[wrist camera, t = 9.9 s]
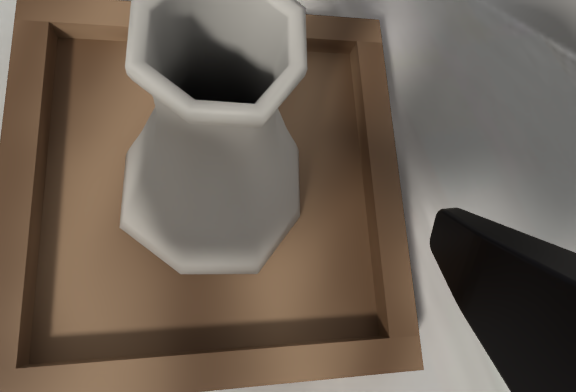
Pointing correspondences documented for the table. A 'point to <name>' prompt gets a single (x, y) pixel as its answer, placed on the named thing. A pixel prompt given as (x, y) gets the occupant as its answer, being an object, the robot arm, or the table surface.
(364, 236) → the walnut tray
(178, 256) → the flask
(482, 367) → the table surface
